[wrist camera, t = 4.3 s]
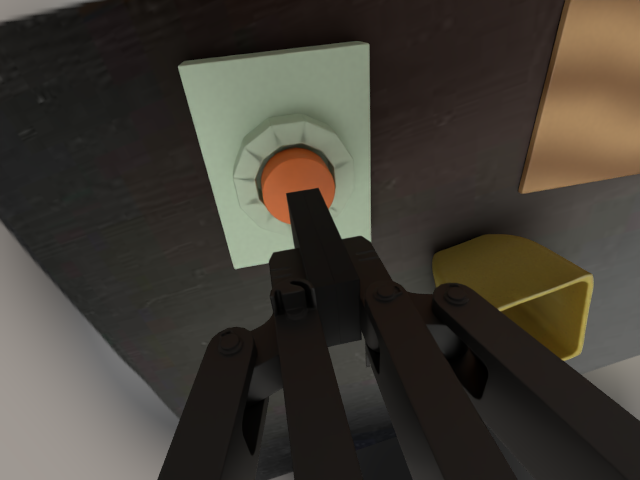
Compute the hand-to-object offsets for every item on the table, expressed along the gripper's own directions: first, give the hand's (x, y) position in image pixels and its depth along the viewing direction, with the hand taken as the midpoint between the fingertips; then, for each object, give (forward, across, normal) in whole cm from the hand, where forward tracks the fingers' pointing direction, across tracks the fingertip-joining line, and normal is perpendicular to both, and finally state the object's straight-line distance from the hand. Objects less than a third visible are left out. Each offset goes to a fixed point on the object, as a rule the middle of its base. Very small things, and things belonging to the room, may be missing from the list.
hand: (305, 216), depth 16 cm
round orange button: (+5, 0, 0) cm, 5 cm away
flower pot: (+8, +14, -12) cm, 21 cm away
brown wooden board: (+8, +25, +2) cm, 27 cm away
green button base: (+8, 0, 0) cm, 8 cm away
